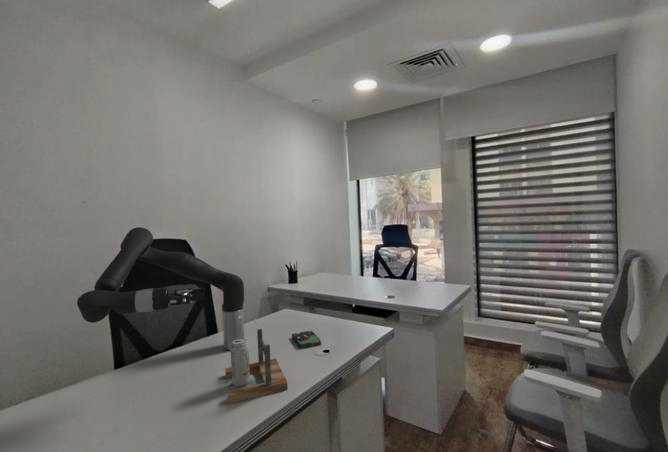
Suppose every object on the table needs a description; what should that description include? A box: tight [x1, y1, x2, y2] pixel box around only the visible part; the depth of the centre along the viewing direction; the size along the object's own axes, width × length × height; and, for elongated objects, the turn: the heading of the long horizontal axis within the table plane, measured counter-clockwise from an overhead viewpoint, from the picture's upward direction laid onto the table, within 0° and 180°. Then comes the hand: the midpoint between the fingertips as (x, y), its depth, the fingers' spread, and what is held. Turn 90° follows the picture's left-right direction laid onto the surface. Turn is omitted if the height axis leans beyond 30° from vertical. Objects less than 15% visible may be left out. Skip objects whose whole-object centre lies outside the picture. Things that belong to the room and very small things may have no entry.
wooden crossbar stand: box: [224, 328, 288, 404], centre depth 110 cm, size 20×19×16 cm
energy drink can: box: [230, 339, 251, 388], centre depth 108 cm, size 6×6×15 cm
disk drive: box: [291, 330, 322, 350], centre depth 146 cm, size 10×3×15 cm
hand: (204, 293), depth 110 cm, fingers open, 8 cm apart
